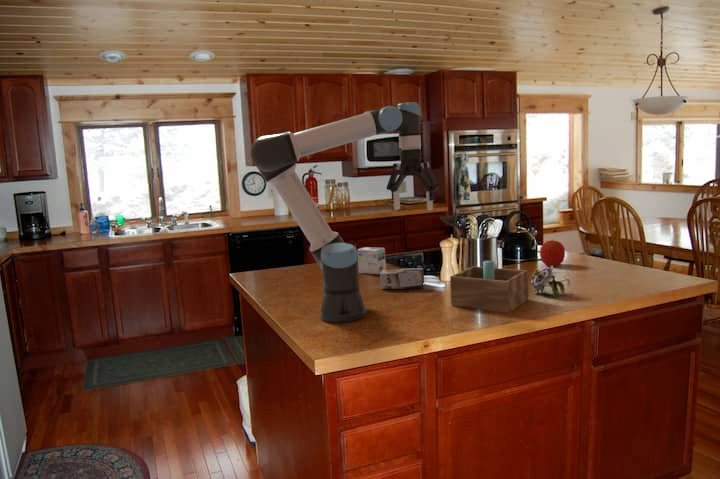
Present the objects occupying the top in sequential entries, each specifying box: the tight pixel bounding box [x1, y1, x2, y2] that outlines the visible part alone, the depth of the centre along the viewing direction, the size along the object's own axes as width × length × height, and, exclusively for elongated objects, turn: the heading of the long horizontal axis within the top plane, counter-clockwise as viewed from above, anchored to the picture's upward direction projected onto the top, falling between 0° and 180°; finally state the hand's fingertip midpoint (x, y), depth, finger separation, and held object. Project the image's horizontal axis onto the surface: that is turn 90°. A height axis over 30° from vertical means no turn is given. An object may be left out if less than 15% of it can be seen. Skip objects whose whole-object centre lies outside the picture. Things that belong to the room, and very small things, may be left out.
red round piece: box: [539, 239, 566, 268], centre depth 235 cm, size 10×10×12 cm
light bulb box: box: [356, 246, 387, 275], centre depth 245 cm, size 11×7×11 cm, turn 58°
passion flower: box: [530, 266, 571, 299], centre depth 192 cm, size 11×11×12 cm
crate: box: [449, 265, 529, 314], centre depth 186 cm, size 17×20×10 cm
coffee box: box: [379, 267, 425, 290], centre depth 216 cm, size 9×6×16 cm
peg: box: [482, 260, 495, 280], centre depth 186 cm, size 4×4×14 cm
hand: (413, 209), depth 195 cm, fingers open, 13 cm apart
